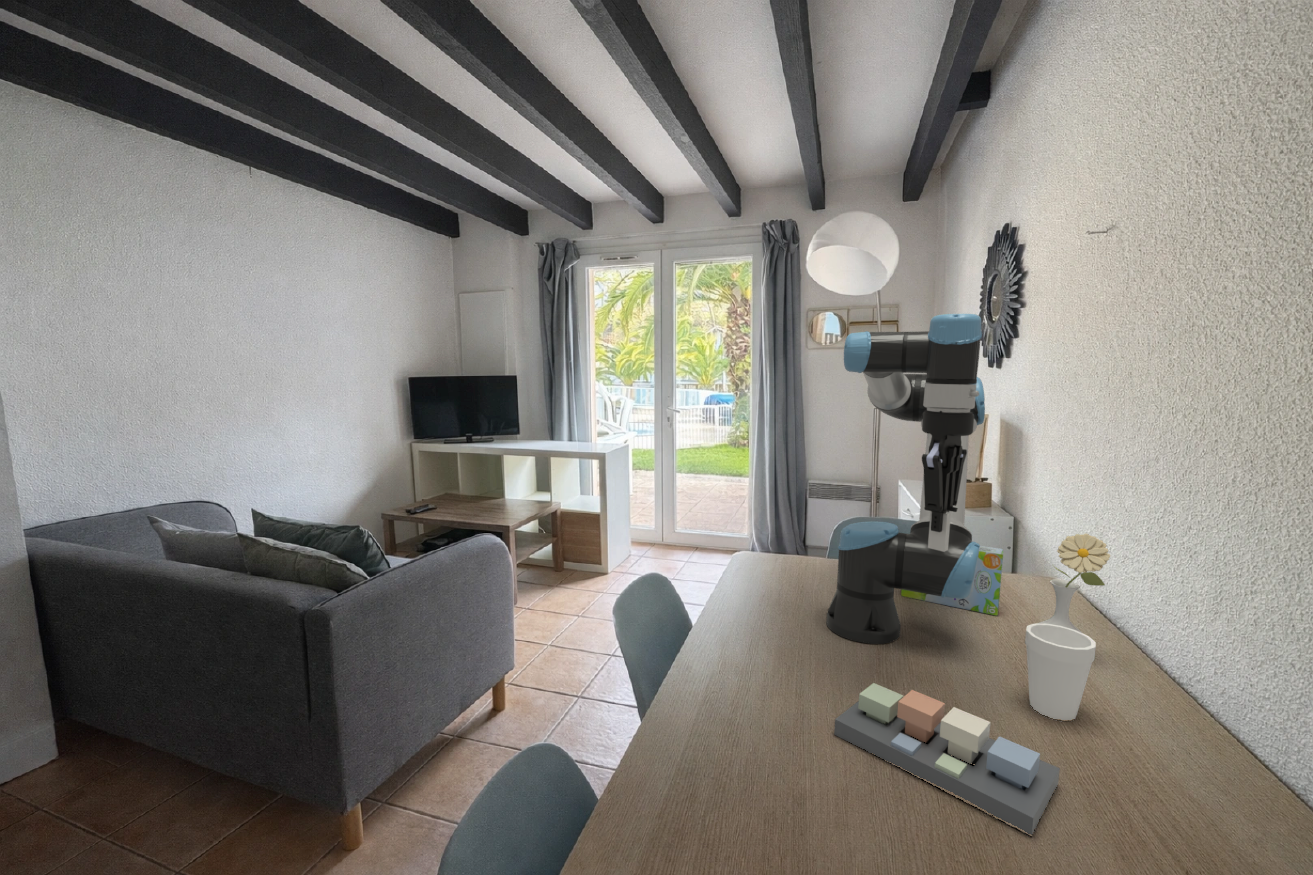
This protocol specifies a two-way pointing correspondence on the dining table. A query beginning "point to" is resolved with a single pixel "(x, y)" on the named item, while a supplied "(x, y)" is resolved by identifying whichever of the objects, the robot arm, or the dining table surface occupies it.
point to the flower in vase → (1082, 558)
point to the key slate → (1013, 763)
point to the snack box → (975, 585)
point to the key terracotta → (920, 714)
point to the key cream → (964, 734)
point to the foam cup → (1057, 668)
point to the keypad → (951, 768)
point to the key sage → (879, 703)
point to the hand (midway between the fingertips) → (937, 548)
